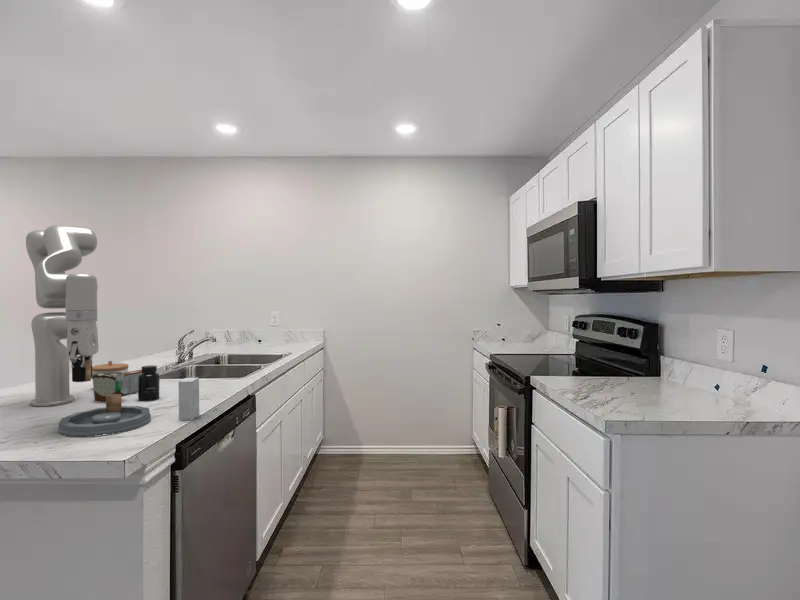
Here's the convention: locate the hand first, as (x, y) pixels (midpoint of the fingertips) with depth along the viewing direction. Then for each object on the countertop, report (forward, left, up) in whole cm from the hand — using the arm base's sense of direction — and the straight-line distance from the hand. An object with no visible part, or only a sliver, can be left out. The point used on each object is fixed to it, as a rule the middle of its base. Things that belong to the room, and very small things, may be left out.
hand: (82, 379), depth 131 cm
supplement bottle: (-16, +29, -14) cm, 36 cm away
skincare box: (+18, +21, -14) cm, 31 cm away
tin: (-31, +32, -14) cm, 47 cm away
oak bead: (0, 0, 0) cm, 0 cm away
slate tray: (+4, +4, -14) cm, 15 cm away
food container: (-25, +21, -14) cm, 36 cm away
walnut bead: (0, +9, -13) cm, 15 cm away
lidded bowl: (-47, +32, -14) cm, 59 cm away
